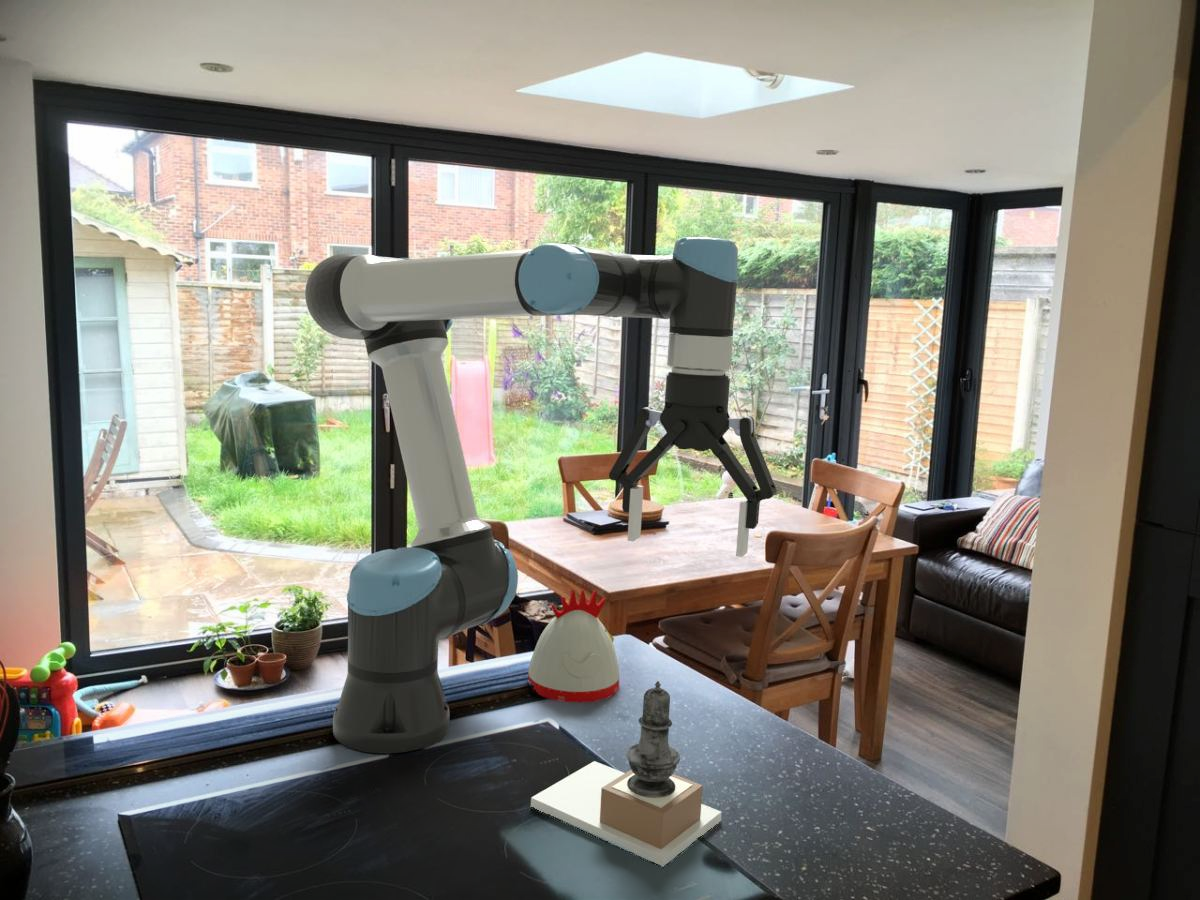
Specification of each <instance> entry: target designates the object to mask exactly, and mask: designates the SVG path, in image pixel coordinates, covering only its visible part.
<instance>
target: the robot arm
mask: <svg viewBox="0 0 1200 900" xmlns="http://www.w3.org/2000/svg"><path fill="white" fill-rule="evenodd" d="M738 250H739V249H738V246H737V245H736V244H735V243H734V242H733V241H731V240H729V239H725V238H716V237H703V236H701V237H697V236H690V237H680V238H678V239H677V240H676V241H675V242H674V248H673V251H672V254H667V255H650V254H649V255H647V254H629V253H623V252H616V251H610V250H603V249H595V248H587V247H583V246H577V245H574V244H572V243H568V242H567V243H565V242H557V243H555V242H554V243H551V242H550V243H543V244H540V245H538V246H536V247H535V248H529V249H519V250H505V251H496V252H481V253H471V254H470V253H469V254H458V255H446V256H436V257H435V256H434V257H421V258H408V257H399V258H397V257H390V256H389V257H388V256H379V255H371V254H359V253H338V254H333V255H330V256H329V257H327V258H325V259H324V260H323V259H322V261H320V262H319V263H318V264H317V265H315V266H314V268H313V269H312V270H311V272H310V274H309V276H308V277H307V281H306V284H305V291H304V292H305V293H304V296H305V303H306V306H307V310H308V312H309V314H310V316H311V318H312V319H313V321H314V322H315V323H316V324H317V325H318V326H319V327H320V328H321V329H323V330H324V331H326V332H327V333H329V334H331V335H333V336H335V337H338V338H341V339H346V340H347V339H348V340H359V341H360V340H364V344H365V349H366V353H367V357H368V360H369V361H371V362H373V363H375V365H377V366H378V367H380V369H381V370H382V371H381V372H382V374H383V380H384V383H385V388H386V393H387V396H388V401H389V405H390V406H389V407H390V409H391V410H390V411H391V414H392V420H393V424H394V427H395V432H396V436H397V440H398V445H399V449H400V454H401V458H402V461H403V462H402V463H403V466H404V472H405V476H406V481H407V484H408V490H409V493H410V498H411V501H412V505H413V511H414V515H415V520H416V524H417V528H418V531H417V534H416V536H415V537H414V539H413V540H412V542H411V543H410V547H409V546H407V547H406V546H405V547H403V546H402V547H398V548H396V549H392V548H387V549H382V550H379V551H376V552H373V553H370V554H368V555H366V556H364V557H362V558H361V559H360V560H358V561H357V562H356V564H354V565H353V567H352V569H351V571H350V574H349V583H348V590H347V594H346V602H347V674H346V679H345V681H344V684H343V688H342V692H341V694H340V699H339V703H338V704H337V706H336V707H335V710H334V712H333V718H332V733H333V737H334V739H336V740H337V741H338V742H339V743H340V744H342V745H343V746H345V747H347V748H350V749H353V750H356V751H360V752H364V753H371V754H373V753H374V754H398V753H407V752H411V751H412V752H413V751H416V750H417V751H418V750H420V749H423V748H426V747H427V748H428V747H429V746H431V745H434V744H436V743H437V742H439V741H440V740H442V739H443V738H444V737H445V736H446V735H447V734H448V731H449V729H450V708H449V705H448V702H447V701H446V697H445V692H444V688H443V685H442V682H441V679H440V675H439V671H438V665H439V660H438V659H439V657H438V656H439V641H441V640H443V639H445V638H449V637H451V636H453V635H456V634H458V633H461V632H463V631H465V630H466V631H467V630H469V629H470V628H474V627H477V626H478V627H479V626H483V625H486V624H487V623H489V622H490V621H492V620H493V619H495V618H497V617H498V616H500V615H502V614H503V613H504V612H505V611H506V610H507V609H509V607H510V605H511V604H512V601H514V599H515V597H516V593H517V589H518V585H519V574H518V573H519V572H518V568H517V562H516V560H515V557H514V554H512V552H511V551H510V549H507V548H506V547H505V545H504V544H503V543H502V542H500V541H498V540H497V539H494V536H493V530H492V525H491V524H490V523H488V522H486V521H484V520H482V518H480V517H479V516H478V512H477V508H476V503H475V499H474V494H473V490H472V486H471V482H470V477H469V473H468V468H467V464H466V460H465V455H464V451H463V446H462V442H461V438H460V434H459V429H458V425H457V420H456V417H455V411H454V408H453V403H452V399H451V394H450V391H449V386H448V385H449V384H448V381H447V378H446V373H445V372H446V371H445V368H444V364H443V360H442V355H443V353H444V351H445V350H446V348H447V346H448V345H449V339H448V338H449V337H448V335H447V333H448V331H449V330H450V329H451V327H452V325H453V323H454V321H453V320H462V319H464V320H465V319H487V318H489V319H490V318H509V317H533V316H535V317H536V316H537V317H538V316H539V317H543V316H545V317H548V316H599V317H600V316H602V317H607V318H611V317H612V318H621V317H622V318H636V319H637V318H638V319H639V318H644V319H646V318H647V319H660V320H669V334H668V348H667V362H666V365H667V366H668V367H669V369H670V368H671V371H669V372H668V373H667V374H666V376H665V377H666V379H665V380H666V381H665V393H664V395H665V396H664V407H663V409H662V410H655V409H654V408H653V407H651V406H647V407H643V408H640V409H639V410H638V412H637V418H636V423H635V427H634V428H633V430H632V432H631V434H630V436H629V437H628V439H627V441H626V443H625V445H624V446H623V448H622V449H621V452H620V454H619V455H618V457H617V459H616V460H615V463H614V465H613V466H612V468H611V469H610V472H608V473H609V474H608V477H609V479H610V480H611V481H615V482H618V483H619V484H621V486H622V503H621V504H622V505H621V506H622V507H621V508H622V512H624V513H628V523H627V524H628V526H627V541H628V542H629V541H630V542H634V541H636V540H638V539H640V538H641V533H642V532H641V531H642V519H643V518H642V517H643V513H642V512H643V499H644V485H637V484H638V483H639V482H640V481H641V480H642V479H643V478H644V476H645V475H646V474H647V473H648V472H649V471H650V470H651V469H653V467H654V466H655V465H656V464H657V463H658V462H659V461H660V460H661V459H662V458H663V457H664V456H665V455H666V454H667V452H668V451H669V450H671V449H672V448H673V447H674V446H675V447H677V448H678V450H689V449H691V450H694V451H697V452H703V453H704V452H706V451H708V450H710V451H711V452H712V454H713V455H714V456H715V458H716V457H717V459H718V460H719V462H720V464H721V465H722V467H724V469H725V470H726V472H727V474H729V476H730V477H731V479H732V480H733V482H734V483H735V485H736V486H737V488H738V489H739V490H740V492H741V494H743V496H744V497H745V498H743V499H742V500H741V501H740V502H739V509H738V510H739V511H738V512H739V513H738V524H737V535H736V536H737V538H736V549H735V550H736V551H735V557H740V558H743V557H744V556H745V555H746V554H747V553H748V549H749V548H748V545H749V537H750V535H749V534H750V529H751V530H754V529H755V528H757V526H758V525H759V516H760V504H761V501H763V500H769V499H772V498H773V497H774V496H775V495H776V494H777V491H778V490H777V487H776V485H775V482H774V480H773V478H772V475H771V472H770V470H769V468H768V464H767V462H766V459H765V457H764V455H763V452H762V450H761V447H760V445H759V442H758V440H757V438H756V435H755V418H754V417H753V416H751V415H747V416H744V417H730V414H729V396H730V387H731V386H730V384H731V378H730V377H729V375H727V374H726V372H727V371H730V369H731V368H732V367H731V366H732V357H733V356H732V355H733V343H734V342H733V341H734V337H733V336H734V321H735V310H736V298H737V288H738V283H739V276H738V265H739V264H738V263H739V260H738V259H739V258H738V256H739V251H738ZM658 421H659V422H660V425H661V426H662V427H663V429H664V431H665V432H666V433H665V434H664V435H663V436H662V437H661V438H660V440H658V442H657V443H656V444H655V446H654V447H653V448H651V449H650V451H649V452H648V453H647V454H646V455H645V456H644V457H643V458H642V459H641V460H640V461H639V462H638V463H637V464H636V465H635V467H634V468H632V470H631V471H630V472H627V471H628V469H629V468H630V466H631V464H632V463H633V461H634V459H635V457H636V456H637V454H638V452H639V450H640V448H641V447H642V445H643V443H644V441H645V439H646V438H647V436H648V435H649V432H650V430H651V428H652V427H655V426H656V425H657V423H658ZM730 428H732V429H733V431H734V434H735V435H736V436H738V437H739V438H740V442H741V445H742V447H743V450H744V452H745V455H746V458H747V460H748V462H749V464H750V468H751V470H752V472H753V475H754V477H755V480H756V482H757V484H758V486H757V484H756V483H755V482H754V481H753V479H752V478H751V476H750V475H749V474H748V472H747V471H746V469H745V467H743V465H742V463H741V462H740V460H739V459H738V458H737V457H736V455H735V453H734V452H733V451H732V450H731V449H732V448H731V446H730V445H729V443H728V442H727V440H726V439H725V438H724V435H725V434H726V433H727V431H728V430H730Z"/></svg>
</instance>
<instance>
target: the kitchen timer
mask: <svg viewBox="0 0 1200 900" xmlns="http://www.w3.org/2000/svg"><path fill="white" fill-rule="evenodd" d="M560 600H561V605H562V609H561V610H558V609H557V608H556V607H555V605H554V603H553V602H552V603H551V604H550V605H551V608H552V611H553V613H554V615H555V616H554V618H553V619H552V620H550V622H549V623H548V624H547V625H546V626H545V628H544V629H543V630H542V633H540V636H539V638H538V640H537V642H536V645H535V648H534V650H533V653H532V656H531V659H530V662H529V667H528V673H527V679H528V678H529V681H530V682H531V683H532V685H533V686H534V689H535V690H536V692H537V693H538V694H537V693H536V694H537V695H538V696H541V697H543V698H546V699H549V700H553V701H560V702H566V703H591V702H596V701H601V700H604V699H608V698H609V697H612V696H613V695H615V694H616V693H617V692H618V691H619V686H620V667H619V665H620V664H619V661H618V658H617V653H616V648H615V646H614V640H615V638H614V637H613V636H612V634H610V633H609V631H608V630H607V629H606V627H605V625H604V624H603V623H602V622H601V621H600V620H599V618H598V616H599V615H600V612H601V611H602V609H603V606H604V605H605V602H606V598H605V597H602V599H601V600H600V601H599V602H598V603H597V591H596V589H593V591H592V593H591V596H590V599H589V601H588V602H587V599H586V594H585V590H584V589H583V588H581V591H580V594H579V599H578V602H577V599H576V593H575V590H574V588H571V590H570V597H569V600H568V602H567V601H566V600H565V598H564V596H563V595H560Z"/></svg>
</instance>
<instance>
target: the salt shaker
mask: <svg viewBox="0 0 1200 900" xmlns="http://www.w3.org/2000/svg"><path fill="white" fill-rule="evenodd" d="M661 686H662V684H661V683H660V681H659V680H657V681H656V682H655V683H654V687H652V688H649V689H648V690H646V691H645V692H644V695H643V705H642V716H640V717H639V719H638V723H639V725H640V738H639V741H638V743H637V744H633V745H632V746H630V747H629V748H628V749H627V750H626V757H627V760H628V765H629V767H630V770H632V772H633V773H634V774H635V775H633V776H632V777H630V778H629V780H628V782H627V786H628V788H629V789H630V790H631V791H632V792H634V793H635V794H638V795H640V796H644V797H651V798H660V797H665V796H668V795H670V794H672V793H673V792H674V790H675V784H674V782H673V781H672V780H671V779H670V778H669V777H670V776H672V774H674V773H675V771H676V768H677V767H678V766H677V765H678V764H679V763H680V761H681V755H680V753H679V752H678V751H677V750H676V749H675V748H673V747H672V746H670V744H669V731H670V728H671V727H672V725H673V722H672V719H670V707H671V706H670V705H671V704H670V703H671V695H670V693H669V692H668V691H667V690H666V689H663V688H661Z"/></svg>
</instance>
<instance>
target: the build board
mask: <svg viewBox="0 0 1200 900" xmlns="http://www.w3.org/2000/svg"><path fill="white" fill-rule="evenodd" d="M633 775H635V774H634V773H633V772H632V770H631V769H630V770H628V771H626V772H623V771H621V770H618V769H616V768H613V767H610V766H608V765H605V764H604V763H600V762H597V761H596V760H593V761H592V762H591V763H588V764H587V765H585V766H583V767H581V768H580V769H578V770H576V771H574V772H573V773H571V774H569V775H568V776H566V777H564V778H563V779H561V780H559V781H557V782H555V783H554V784H552V785H551V786H549V787H547V788H546V789H545V788H544V790H542V791H539V792H538V793H537V794H535V795H533V796H531V798H530V808H531V807H534V808H535V809H537V810H539V811H538V812H540V811H541V812H540V813H542V812H544V813H546V814H550V815H551V816H554V817H556V818H559V819H561V820H563V821H565V822H568V823H570V824H572V825H574V826H577V827H580V828H582V829H584V830H587V831H589V832H590V833H593V834H595V835H598V836H600V837H603V838H605V839H606V840H609V841H612V842H613V843H616V844H618V845H620V846H622V847H625V849H628V850H630V851H632V852H634V853H636V854H638V855H640V856H642V857H644V858H647V859H649V860H651V861H653V862H655V863H657V864H660V865H662V866H664V865H665V864H666V863H667V862H669V861H670V860H672V858H674V857H675V856H676V855H677V854H679V852H681V851H683V850H684V849H685V848H686V847H687V846H689V845H690V844H691V843H692V842H693V841H694V840H695V839H696V838H698V837H700V836H702V835H704V834H705V833H706V832H707V831H708V830H710V829H711V828H712V829H714V828H715V827H716V826H717V825H718V824H720V823H721V822H720V821H722V811H721V810H718V809H716V808H713V807H710V806H709V805H706V804H703V803H702V799H703V787H704V785H703V784H701V783H699V782H698V783H697V782H695V781H693V780H690V779H688V778H684V777H682V776H679V775H677V774H674V773H673V774H672V776H670V777H669V778H670V779H671V780H672V781H673V782H674V784H675V790H674V792H673V793H672V794H670V795H668V796H665V797H660V798H651V797H644V796H640V795H638V794H635V793H634V792H632V791H631V790H630V789H629V788H628V786H627V782H628V780H629V778H630V777H632V776H633ZM535 809H534V810H535ZM537 810H536V811H537ZM544 813H543V814H544ZM546 814H545V815H546ZM551 816H550V817H551ZM719 822H720V823H719ZM716 824H717V825H716ZM715 825H716V826H715ZM714 826H715V827H714ZM713 827H714V828H713ZM712 829H711V830H712ZM711 830H710V831H711ZM707 833H708V832H707ZM707 833H706V834H707ZM706 834H705V835H706ZM705 835H704V836H705ZM702 837H703V836H702ZM672 861H673V860H672Z"/></svg>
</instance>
